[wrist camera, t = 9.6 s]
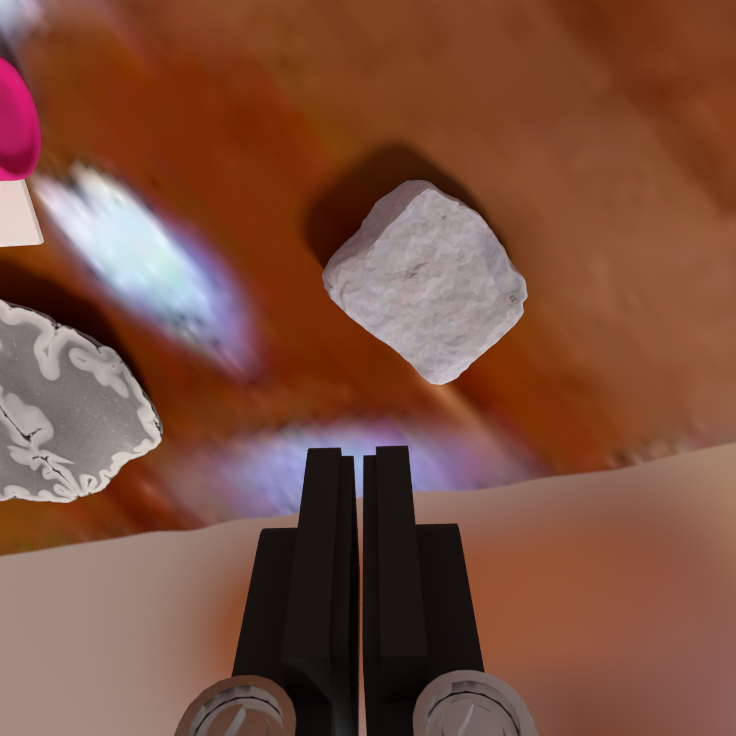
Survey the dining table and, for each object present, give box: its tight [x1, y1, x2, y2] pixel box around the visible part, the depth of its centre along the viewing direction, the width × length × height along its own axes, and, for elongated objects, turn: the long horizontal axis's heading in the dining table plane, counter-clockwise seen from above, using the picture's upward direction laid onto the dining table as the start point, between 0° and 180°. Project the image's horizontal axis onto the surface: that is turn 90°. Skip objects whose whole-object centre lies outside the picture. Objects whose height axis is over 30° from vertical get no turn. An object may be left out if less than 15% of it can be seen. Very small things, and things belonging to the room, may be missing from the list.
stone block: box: [322, 180, 527, 385], centre depth 42 cm, size 12×5×10 cm
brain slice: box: [0, 300, 163, 502], centre depth 46 cm, size 20×17×3 cm
